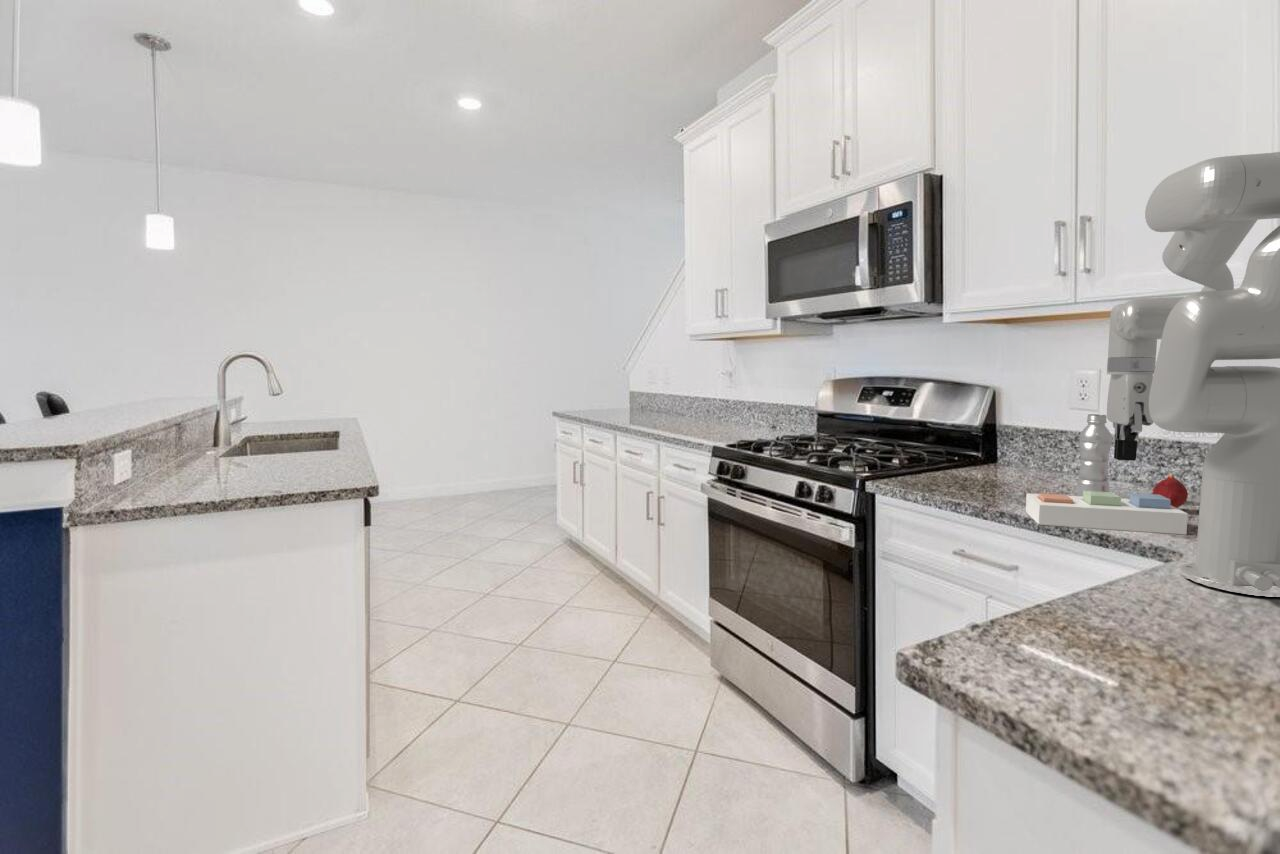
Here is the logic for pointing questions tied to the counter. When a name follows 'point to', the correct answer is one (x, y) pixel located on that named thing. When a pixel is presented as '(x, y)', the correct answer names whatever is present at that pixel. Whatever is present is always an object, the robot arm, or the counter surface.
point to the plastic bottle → (1094, 455)
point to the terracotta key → (1055, 498)
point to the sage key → (1101, 498)
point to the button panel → (1107, 516)
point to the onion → (1172, 491)
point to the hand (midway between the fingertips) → (1124, 459)
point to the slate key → (1149, 501)
